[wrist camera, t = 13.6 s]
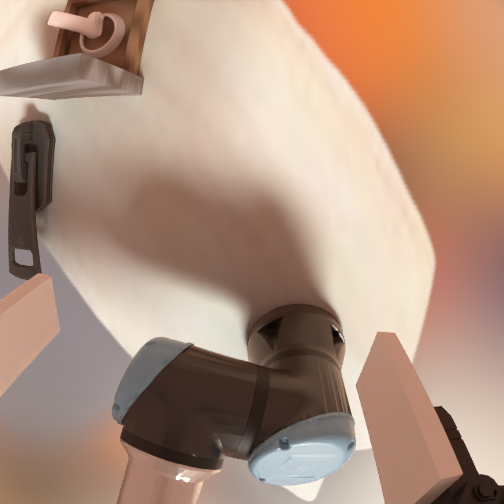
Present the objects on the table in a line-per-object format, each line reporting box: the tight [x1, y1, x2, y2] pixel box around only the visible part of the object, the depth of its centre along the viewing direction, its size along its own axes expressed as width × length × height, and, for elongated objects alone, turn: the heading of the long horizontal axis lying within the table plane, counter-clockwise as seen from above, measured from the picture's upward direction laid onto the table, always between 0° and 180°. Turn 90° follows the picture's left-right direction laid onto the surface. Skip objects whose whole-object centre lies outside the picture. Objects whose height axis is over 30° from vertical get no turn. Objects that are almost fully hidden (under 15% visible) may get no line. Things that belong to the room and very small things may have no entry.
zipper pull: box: [8, 121, 55, 280], centre depth 40 cm, size 9×7×25 cm
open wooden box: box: [0, 0, 154, 100], centre depth 27 cm, size 17×16×16 cm
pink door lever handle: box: [48, 11, 125, 59], centre depth 30 cm, size 8×12×7 cm
